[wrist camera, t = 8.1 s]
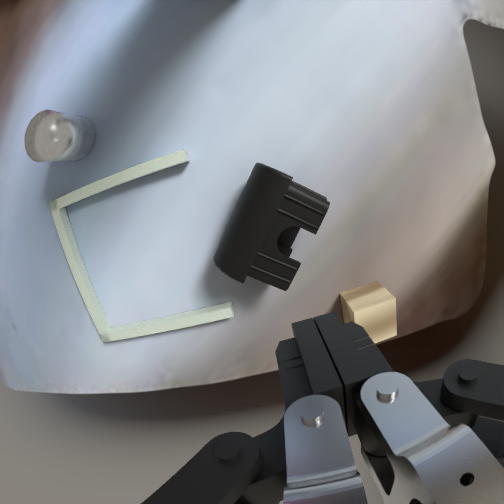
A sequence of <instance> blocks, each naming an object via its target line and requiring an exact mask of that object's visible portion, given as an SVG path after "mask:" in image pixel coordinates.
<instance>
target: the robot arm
mask: <svg viewBox="0 0 504 504" xmlns="http://www.w3.org/2000/svg"><path fill="white" fill-rule="evenodd" d="M292 329H293V334H294V338H291V339H287V340H283V341H280V342H279V344H278V347H277V349H276V351H275V352H276V358H277V363H278V368H279V373H280V378H281V384H282V390H283V395H284V400H285V413H284V416H283V418H282V419H281V420H280V422H279V423H278V424H277V425H276V426H275V427H273V428H272V429H270V430H268V431H267V432H264V433H262V434H260V435H258V436H256V437H253V438H252V437H251V436H250V435H247V434H245V433H241V432H229V433H224V434H221V435H218V436H217V437H215V438H213V439H212V440H210V441H209V442H208V443H207V444H206V445H205V446H204V447H203V448H202V449H201V450H200V451H199V452H198V453H197V454H196V455H195V456H194V457H193V458H192V459H191V460H190V461H188V462H187V463H186V464H185V466H183V467H182V468H181V469H180V470H179V471H178V472H177V473H176V474H175V475H174V476H172V477H171V478H170V479H169V480H168V481H167V482H166V483H165V484H163V485H162V486H161V487H160V488H159V489H158V490H157V491H155V492H154V493H153V494H152V495H151V496H150V497H149V498H147V499H146V500H145V501H144V502H143V503H141V504H279V502H280V501H282V500H283V501H284V504H368V503H367V499H366V494H365V490H364V486H363V482H362V479H361V476H360V473H359V472H357V470H356V467H355V463H354V459H353V455H352V451H351V446H350V442H349V438H348V436H352V435H355V434H358V437H359V439H360V442H361V454H362V457H363V458H364V460H365V462H366V465H367V467H368V469H369V471H370V473H371V475H372V477H373V479H374V480H375V483H376V485H377V487H378V489H379V491H380V493H381V495H382V497H383V499H384V502H385V504H504V422H501V421H496V420H492V419H487V418H482V417H478V415H481V416H484V417H489V418H494V419H498V420H503V421H504V365H498V364H492V363H487V362H482V361H477V360H471V359H470V360H469V359H467V360H466V359H465V360H460V361H457V362H455V363H453V364H451V365H450V366H449V367H448V368H447V369H446V371H445V373H444V378H442V379H436V380H431V381H424V382H412V381H411V380H410V379H409V378H408V377H407V376H405V375H403V374H400V373H396V372H394V371H393V370H392V368H391V367H390V365H389V364H388V363H387V361H386V359H385V358H384V356H383V355H382V353H381V352H380V351H379V349H378V348H377V346H376V345H375V344H374V342H373V340H372V339H371V338H370V337H369V335H368V333H367V332H366V331H365V329H364V328H363V327H362V326H360V325H358V324H356V323H355V322H353V321H351V322H348V323H344V324H341V322H340V320H339V319H338V317H337V316H336V314H335V313H334V312H331V313H328V314H324V315H321V316H317V317H314V318H313V319H312V318H310V319H306V320H303V321H299V322H295V323H292ZM347 434H348V435H347Z"/></svg>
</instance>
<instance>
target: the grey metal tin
mask: <svg viewBox="0 0 504 504" xmlns="http://www.w3.org/2000/svg"><path fill="white" fill-rule="evenodd" d="M94 141H95V130H94V127H93V125H92V123H91V122H90V121H89V120H87V119H85V118H82V117H78V116H73V115H69V114H65V113H60V112H55V111H51V110H45V111H41V112H40V113H38V114H37V115H35V116H34V117H33V119H32V120H31V121H30V123H29V125H28V127H27V130H26V133H25V149H26V152H27V154H28V156H29V157H30V158H31V159H32V160H34V161H36V162H50V161H72V160H80V159H82V158H84V157H85V156H86V155H87V154H88V153H89V152H90V151H91V149H92V147H93V145H94Z"/></svg>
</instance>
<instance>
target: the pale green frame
mask: <svg viewBox="0 0 504 504" xmlns="http://www.w3.org/2000/svg"><path fill="white" fill-rule="evenodd" d="M188 161H189V158H188V154H187V150H181V151H177V152H174V153H171V154H168V155H165V156H162V157H159V158H156V159H153V160H150V161H148V162H145V163H142V164H139V165H137V166H134V167H131V168H128V169H126V170H123V171H121V172H118V173H115V174H113V175H110V176H108V177H105V178H103V179H100V180H98V181H96V182H93V183H91V184H88V185H86V186H84V187H82V188H79V189H77V190H75V191H73V192H70V193H68V194H66V195H64V196H62V197H59V198H57V199H55V200H53V201H51V202H49V206H50V209H51V213H52V216H53V219H54V223H55V226H56V229H57V232H58V235H59V238H60V241H61V244H62V247H63V250H64V252H65V255H66V258H67V261H68V263H69V266H70V269H71V271H72V274H73V276H74V279H75V281H76V284H77V286H78V288H79V291H80V293H81V295H82V298H83V300H84V302H85V304H86V307H87V309H88V311H89V313H90V315H91V317H92V320H93V322H94V324H95V326H96V328H97V330H98V332H99V334H100V336H101V338H102V340H103V342H109V341H115V340H121V339H127V338H133V337H138V336H144V335H149V334H155V333H160V332H165V331H170V330H175V329H180V328H185V327H190V326H195V325H199V324H204V323H208V322H213V321H217V320H222V319H226V318H231V317H234V310H233V307H232V304H231V302H227V303H223V304H218V305H214V306H210V307H205V308H201V309H197V310H192V311H188V312H183V313H179V314H174V315H169V316H165V317H160V318H155V319H150V320H145V321H141V322H136V323H131V324H126V325H120V326H115V327H111V325H110V323H109V321H108V319H107V317H106V315H105V313H104V310H103V308H102V306H101V304H100V301H99V299H98V297H97V295H96V292H95V290H94V287H93V285H92V283H91V280H90V278H89V275H88V273H87V270H86V267H85V265H84V262H83V259H82V257H81V254H80V251H79V248H78V246H77V243H76V240H75V237H74V234H73V231H72V228H71V225H70V222H69V218H68V215H67V212H66V208H65V207H66V206H69V205H71V204H73V203H76V202H78V201H80V200H83V199H85V198H88V197H90V196H92V195H95V194H97V193H100V192H102V191H105V190H108V189H110V188H113V187H115V186H118V185H121V184H123V183H126V182H129V181H131V180H134V179H137V178H140V177H143V176H146V175H148V174H151V173H154V172H157V171H160V170H163V169H166V168H169V167H172V166H176V165H179V164H182V163H185V162H188Z"/></svg>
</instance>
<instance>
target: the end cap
mask: <svg viewBox="0 0 504 504" xmlns="http://www.w3.org/2000/svg"><path fill="white" fill-rule="evenodd" d="M292 179H293V177H291V176H289V175H287V174H285V173H282V172H280V171H278V170H276V169H273V168H271V167H269V166H266V165H264V164H261V163H256V164H255V166H254V168H253V170H252V173H251V175H250V177H249V179H248V181H247V184H246V186H245V188H244V190H243V192H242V195H241V197H240V199H239V201H238V204H237V206H236V208H235V210H234V213H233V215H232V217H231V219H230V222H229V224H228V226H227V228H226V231H225V233H224V235H223V238H222V240H221V242H220V245H219V247H218V249H217V252H216V254H215V256H214V262H215V264H216V266H217V267H218V268H219V269H220V270H221V271H222V272H224V273H225V274H226V275H228V276H230V277H231V278H233V279H235V280H237V281H239V282H241V283H244V281H245V279H246V277H247V276H249V277H252V278H254V279H257V280H259V281H262V282H264V283H267V284H269V285H272V286H274V287H277V288H279V289H282V290H284V291H286V290H287V289H288V288H289V286H290V284H291V282H292V280H293V278H294V276H295V274H296V272H297V271H298V269H299V267H300V265H301V263H300V262H298V261H296V260H294V259H291V258H289V256H290V254H291V252H292V249H291V246H292V244H293V242H294V240H295V238H296V236H297V234H298V232H299V230H300V228H303V229H305V230H307V231H309V232H311V233H314V234H316V233H317V231H318V229H319V227H320V225H321V223H322V221H323V219H324V217H325V215H326V213H327V210H328V208H329V205H330V202H328V201H327V199H326V197H324V196H322V195H320V194H318V193H316V192H314V191H312V190H310V189H308V188H306V187H304V186H302V185H300V184H298V183H296V182H294V181H292Z"/></svg>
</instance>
